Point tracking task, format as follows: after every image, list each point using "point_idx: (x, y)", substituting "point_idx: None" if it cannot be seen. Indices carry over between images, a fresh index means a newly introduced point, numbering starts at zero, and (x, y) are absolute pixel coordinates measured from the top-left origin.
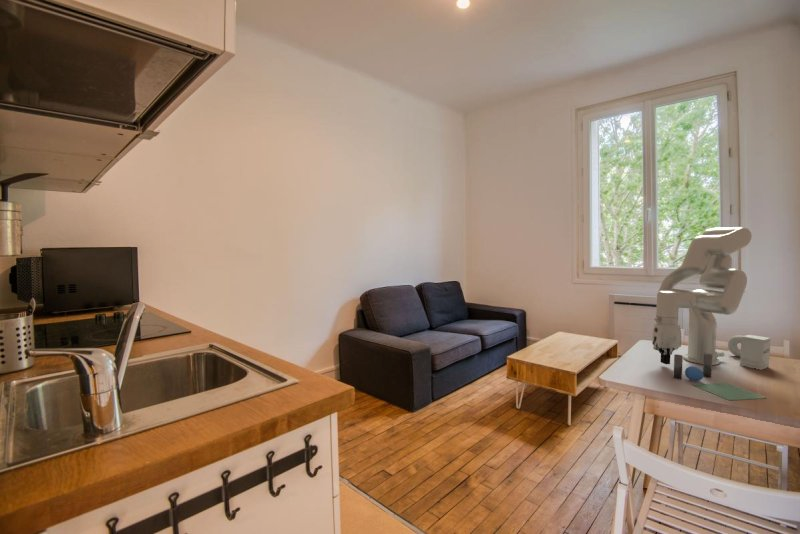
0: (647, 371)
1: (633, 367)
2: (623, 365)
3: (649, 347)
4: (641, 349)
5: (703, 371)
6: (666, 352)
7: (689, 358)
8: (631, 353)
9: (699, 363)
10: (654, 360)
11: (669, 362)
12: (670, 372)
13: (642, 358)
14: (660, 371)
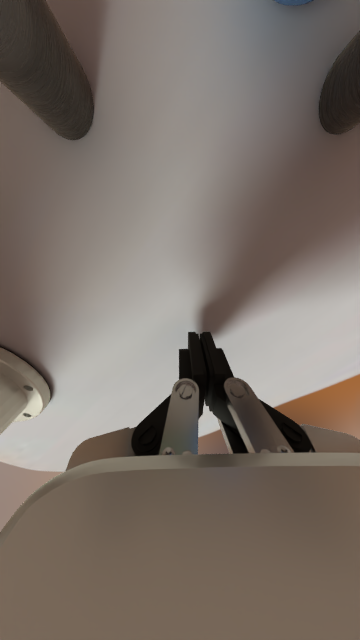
0: (354, 286)
1: (342, 342)
2: (348, 365)
3: None
4: None
5: (59, 48)
6: (234, 398)
7: (29, 390)
8: None
9: (6, 350)
10: None
11: (193, 336)
12: (252, 253)
13: None
14: (288, 277)
